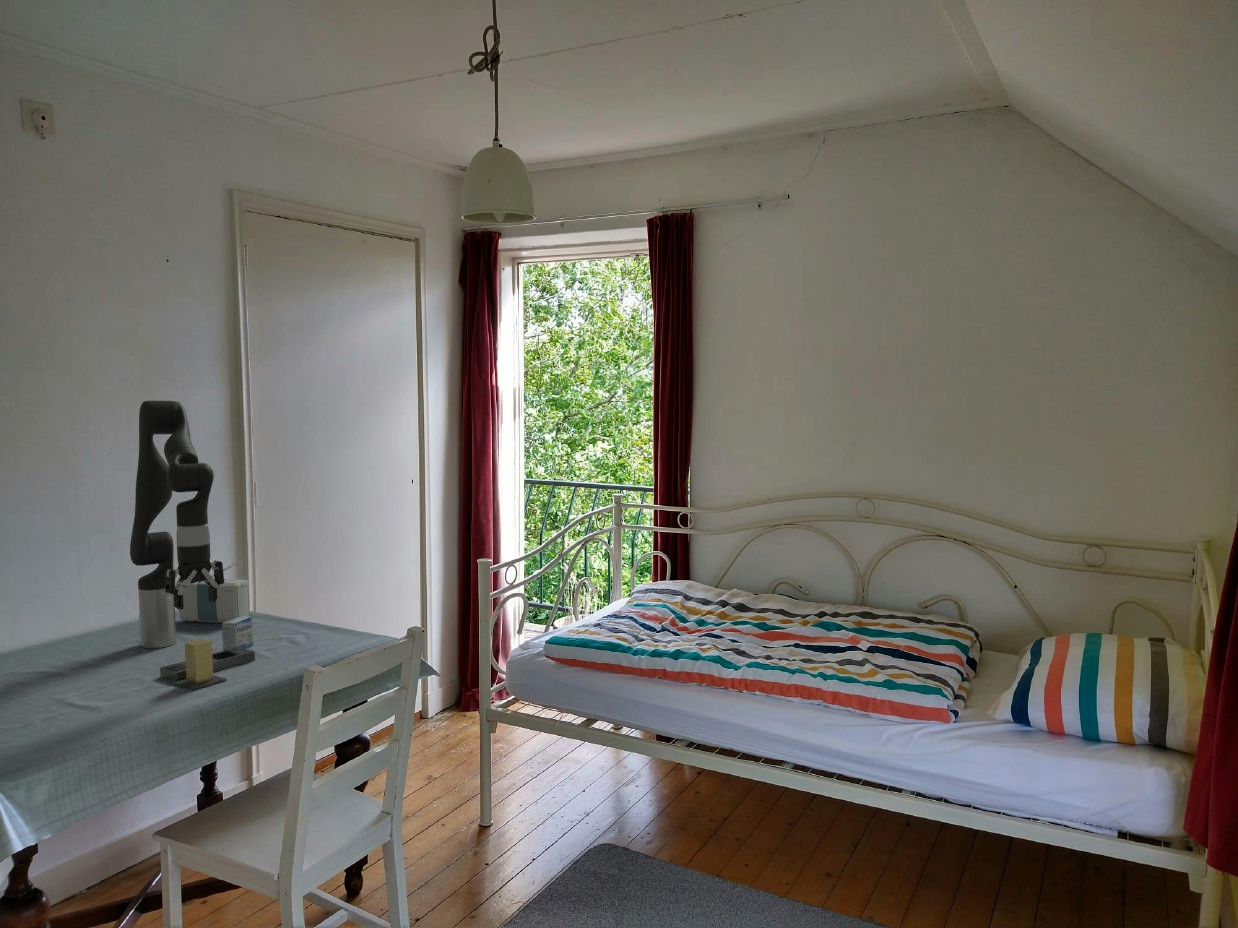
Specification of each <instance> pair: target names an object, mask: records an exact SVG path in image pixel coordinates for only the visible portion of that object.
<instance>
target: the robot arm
mask: <svg viewBox="0 0 1238 928" xmlns="http://www.w3.org/2000/svg"><path fill="white" fill-rule="evenodd" d="M155 435H170V436H169V437H168V438H167V440H166V441H165V443H164V446H163V455H164V456H165V458H164V457H163V456H162V455H161V454H160V452H159V450H158V449H157V447H156V445H155V443H154V436H155ZM165 459H166V460H165ZM166 461H167V462H166ZM214 473H215V472H214V470H213V468H212V466H211V465H209V464H208V463H206V462H199V456H198V454H197V452H196V449H195V448H194V445H193V443H192V439H191V433H190V425H189V421H188V417H187V412H186V409H185V406H184V405H183V404H182V403H181V402H179V401H176V400H144V401H143V402H142V403H141V405H140V408H139V412H138V460H137V470H136V479H135V497H134V498H135V503H134V516H133V517H134V518H133V524H132V530H131V537H130V544H129V556H130V560H131V562H132V564H133V565H135V566H138V567H139V566H140V567H143V566H150V565H157V567H156V568H155V569H154V570H152V571H151V572H149V573H148V574H144V576H143V575H142V576H141V577H139V578H138V581H137V589H138V590H137V591H138V594H137V595H138V608H139V609H138V610H139V612H138V619H139V620H138V621H139V640H140V642H139V643H140V646H141V647H142V648H143V649H161V648H164V647H169V646H172V645H175V644H176V643H177V642H178V641H177V623H176V610H178V611H179V610H182V609H184V603H183V595H181V594H182V593H183V591H184V590H185V588H186V587H188V585H189V583H191V584H192V583H195V582H202V581H204V582H205V583H206V584H207V585H208V586H209V588H208V600H209V602H211V603H213V602H216V600H217V587H218V586H219V585H220V584H223V583H224V579H225V576H224V575H225V574H224V571H223V570H224V566H223V561H220V560H213V562H211V561H210V560H211V558H212V557H211V537H210V536H211V535H210V528H209V518H208V517H209V516H208V505H209V499H210V493H211V490H212V487H213V483H214V477H215V475H214ZM173 492H174V493H175V492H176V493H190V492H197V493H196V494H195V496H193V498H191V499H187V500H185V501H181V502H179V503H177V505H176V507H175V509H176V510H175V511H176V513H175V515H176V555H177V557H176V558H177V559H176V560H177V563H178V566H177V568H174V553H175V551H174V547H175V546H174V540H173V537H172V536H173V535H172V534H171V533H170V532H169V531H157V532H156V531H155V532H149V530H150V528H151V526H152V523H154V520H156V518H157V517H158V516H159V515H160V514H161V513H162V512H163V510H164V509H165V508H166V506H167V505H168V504H169V503H170V501H171V499H172V496H173ZM211 570H212V571H213V575H214V576H213V577H212V575H211V574H210V572H211ZM178 575H179V578H178V579H177V581H176V578H177V576H178Z"/></svg>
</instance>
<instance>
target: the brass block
mask: <svg viewBox="0 0 1238 928" xmlns="http://www.w3.org/2000/svg"><path fill="white" fill-rule="evenodd" d="M212 643H213V642H212V641H211V640H208V639H204V638H200V639H195V640H192V641H188V642H187V641H186V642H184V656H185V661H186V679H187V682H190V683H193V684H196V685H197V684H201V683H204V682H208V681H211V680H213V675H214V672H213V660H212V654H213V644H212Z"/></svg>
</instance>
